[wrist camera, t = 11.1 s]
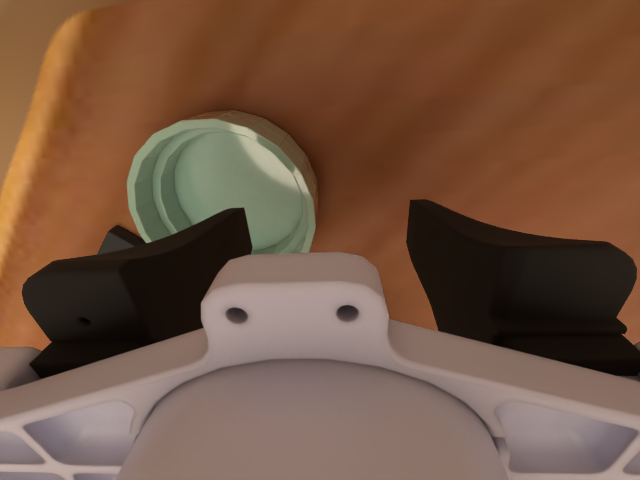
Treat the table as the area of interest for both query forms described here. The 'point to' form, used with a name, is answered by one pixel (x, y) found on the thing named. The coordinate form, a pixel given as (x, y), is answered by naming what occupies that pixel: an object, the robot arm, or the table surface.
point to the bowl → (225, 180)
